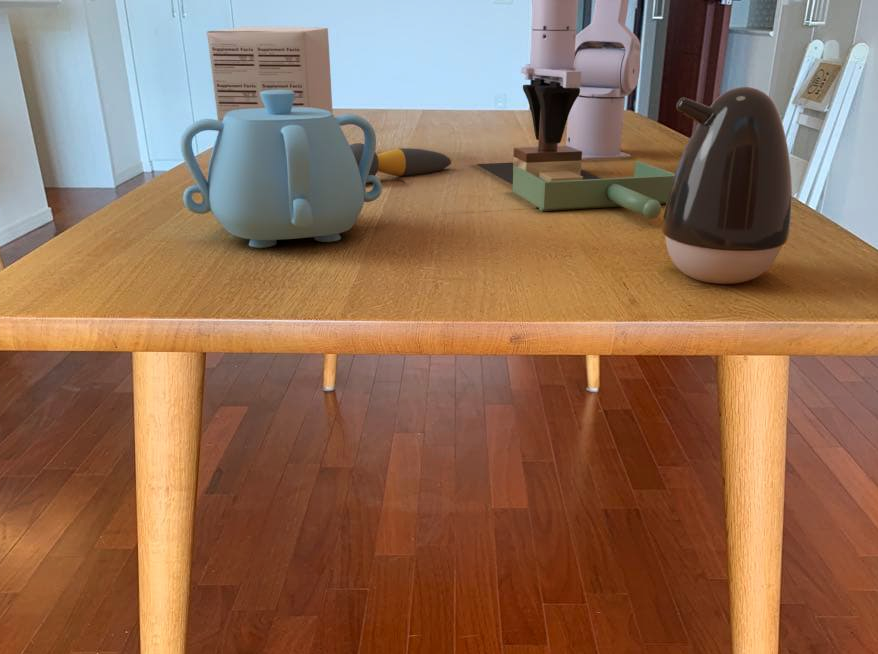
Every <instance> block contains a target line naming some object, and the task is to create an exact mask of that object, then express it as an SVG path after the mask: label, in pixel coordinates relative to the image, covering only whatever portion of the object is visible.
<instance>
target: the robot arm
mask: <svg viewBox="0 0 878 654" xmlns="http://www.w3.org/2000/svg"><path fill="white" fill-rule="evenodd" d="M629 3H630V0H595V2H594V8H593V15H592V21H591V22H590V24H588V25H587V26H586V27H585V28H583V29H582V30H581V31H580V32H578V33H577V27H578V11H579V10H578V8H579V0H532V7H531V30H530V31H531V34H530V55H529V56H530V57H529V61H530V62H529V63H526V64H525V66H524V67H520V74H523V75H524V80H527V81H534V82H532V84H523V85H522V90H523V91H522V92H524V94H525V97H526V100H527V102H528V105H529V110H530V112H531V113H530V114H531V117H532V122H533V123H532V124H533V130H534V137H535V140H536V141H539V122H540V109H541V113H542V127H543V138H544V143H558V144H561V142H562V139H563V135H564V132H565V129H566V139H565V140H566V141H565V146H569V147H572V148H574V149H577V150H580V151H582V160H584V161H585V160H586V161H587V160H609V159H611V160H613V159H630V158H631V154H629V153H626V152H623V151H621V149H622V148H621V147H622V138H623V137H622V136H623V125H624V114H625V105H626V104H625V103H626V97H627V96H629V95H630V94H632V92H633V91H634V90H635V88H636V87H637V86H638V82H639V78H640V74H641V73H640V71H641V50H642V46H641V45H642V44H641V42H640V40H639V38H638V37H637V35H636V34H635V33H634V32H632V30H631V29H630V28H629V27H628V26H627V25H626V23H627V17H628V16H627V15H628V10H629ZM566 125H567V126H566Z"/></svg>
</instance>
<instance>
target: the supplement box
mask: <svg viewBox="0 0 878 654" xmlns="http://www.w3.org/2000/svg"><path fill="white" fill-rule="evenodd" d="M206 36H207V44H208V51H209V52H208V53H209V61H210V69H211V76H212V87H213V93H214V101H215V103H214V104H215V110H216V120H218V121H221V122H222V121H223V119H224V116H225V115H226V114H227V112H229V111H233V110H239V109H253V108H265V106H264V103H263V101H262V99H261V96H260V92H262V91H266V90H290V91H293V92H295V98H294V102H293V105H292V107H308V108H318V109H323V110H327V111H330V112H331V113H332V114H333V115H334V113H333V111H334V110H333V97H332V95H333V94H332V78H331V61H330V60H331V59H330V43H329V28H328V27H321V26H320V27H317V26H316V27H315V26H313V27H312V26H240V27H233V28H224V29H217V30H216V29H215V30H207V31H206Z"/></svg>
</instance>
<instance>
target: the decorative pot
mask: <svg viewBox="0 0 878 654" xmlns="http://www.w3.org/2000/svg"><path fill="white" fill-rule="evenodd" d="M260 96H261V99H262V101H263V103H264V106H265V108H253V109H239V110H233V111H229V112H227V114H226V115H225V116H224V119H223V121H222V122H221V121H218V119H213V118H202V119H200V120H199V119H198V120H196V121H194V122H192V123H191V124H189V126H187V127H186V128H185V129H184V131H183V133H182V134H181V138H180V152H181V154H182V157H183V161H184V162H185V164H186V167H187V169H188V171H189V173H190V175H191V176H192V178H193V181H194V182H195V184H196V185H190V186H188V187H186V189H185V190H184V192H183V196H182V201H183V203H184V207H185V208H186V209H187V210H188V211H189V212H191V213H194V214H198V215H206V214H208V213H210V212H211V214H212V215H213V216H214V217H215V219H216V221H217V222H218V223H219V224H220V226H222V227H223V229H224V230H225V231H226V232H228V233H230V234H231V235H233V236H236V237H238V238H241V239H246V240H249V243H248V246H249V247H251V248H259V249H261V248H269V247H273V246H276V245H277V240H278V241H279V240H292V239H293V240H295V239H305V238H313V239H314V240H315V241H317V242H323V243H330V242H331V243H332V242H338V241H339V240H340V241H341V239H342V237H341V235H340V234H341V233H345V232H348V231H349V230H350V229H352V228H353V226H354V225H355V223H356V222H357V220H358V219H359V217H360V215H361V213H362V210H363V208H364V204H365V203H371V202H373V201H376V200H377V199H378V198H380V196H381V194H382V191H383V187H382V182H381V180H380V178H379V177H377V176H376V175H375V176H374V175H368V174H369V171H370V167H371V164H372V161H373V157H374V153H376V146H377V136H376V131H375V129H374V127H373V126H372V124H371V123H370V122H369V121H368V120H366V119H365V118H363V117H362V116H360V115H358V114H354V113H344V114H339V115H336V116H335V115H334V113H333V114H332V113H331V112H330V111H327V110H323V109H318V108H308V107H292V105H293V102H294V98H295V92H293V91H290V90H266V91H262V92H260ZM348 125H351V126H352V125H353V126H357V127H359V128H360V129H361V130H362V132H363V137H364V143H363V144H364V150H363V154H362V158H361V161H360V165H359V168H358V165H357V162H356V159H355V156H354V154H353V152H352V150H351V147H350V145H351V144H350V143H349V141H348V139H347V137H346V135H345V132H344V131H343V129H342V127H343V126H348ZM205 131H216V132H218V133H217V134H216V138H215V141H214V144H213V148H212V150H211V155H210V157H209V158H210V159H209V164H208V170H207V179H206V177H205V175H204V173H203V171H202V169H201V168H200V166H199V163H198V162H197V159H196V156H195V153H194V150H193V139H194V138H195V136H196V135H198V134H199V133H201V132H205ZM367 183H372V185H373V186H372V189H371V190H370V191H367V190H366V184H367ZM194 194H201V197H202V201H201V203H197V202H195V201H194V200H193V195H194Z"/></svg>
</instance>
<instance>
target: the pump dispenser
mask: <svg viewBox="0 0 878 654" xmlns="http://www.w3.org/2000/svg"><path fill="white" fill-rule="evenodd" d="M676 110H677V111H678V112H679V113H682V114H683V115H685V116H686V117H688V118H690V119H692V120H694V122H697V125H696V126H695V128H694V130H693V132H692V134H691V136H690V138H689V140H688V141H687V143H686V146H685V148H684V150H683V153H682V155H681V157H680V159H679V162H678V165H677V168H676V171H675V175H674V178H673V182H672V185H671V188H670V192H669V196H668V200H667V203H666V204H665V208H664V212H663V216H662V217H663V218H662V226H661V231H662V234H663V235H664V236H665V237H664V239H665V245H666V250H667V254H668V255H669V258H670V259H671V261H672V263H673V264H674V265H675V267H676V268H677V269H678V270H679V271H680V272H682V273H684V274H685V275H686V276H688V277H690V278H692V279H694V280H697V281H700V282H704V283H709V284H718V285H736V284H741V283H746V282H748V281H749V282H750V281H751V280H754V279H756V278H757V277H759V276H761V275H762V274H764V273H765V272H766V271H767V270H768V269H769V268H770V267H771V266H772V265H773V264H774V262H775V261H776V259H777V258H778V256H779V254H780V252H781V250H782V247H783V245H785V244H786V243H787V242H788V239H789V235H790V229H791V222H792V218H791V217H792V199H793V197H792V196H793V194H792V193H793V187H792V185H793V183H792V169H791V160H790V153H789V147H788V146H789V145H788V141H787V137H786V132H785V129H784V124H783V121H782V118H781V115H780V113H779V110H778V108H777V106H776V104H775V102H774V101H773V99H772V98H771V97H770V96H769V95H768V94H766V93H765V92H763V91H762V90H760V89H758V88H755V87H750V86H740V87H733V88H731V89H729V90H727V91H725V92H723V93H721V94H720V95H719V96H718V97H717V98H715V99H714V101H712V103H711V104H710V106H708V105H706V104H703V103H700V102H697V101H695V100H693V99H690V98H687V97H683V96H682V97H681V98H679V99H678V101H677V103H676Z"/></svg>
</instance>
